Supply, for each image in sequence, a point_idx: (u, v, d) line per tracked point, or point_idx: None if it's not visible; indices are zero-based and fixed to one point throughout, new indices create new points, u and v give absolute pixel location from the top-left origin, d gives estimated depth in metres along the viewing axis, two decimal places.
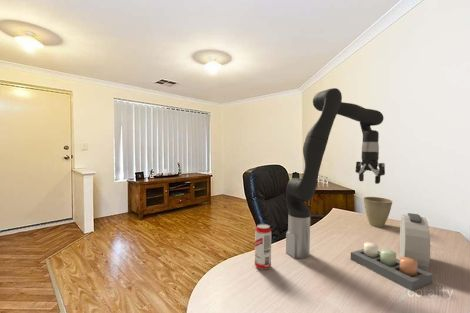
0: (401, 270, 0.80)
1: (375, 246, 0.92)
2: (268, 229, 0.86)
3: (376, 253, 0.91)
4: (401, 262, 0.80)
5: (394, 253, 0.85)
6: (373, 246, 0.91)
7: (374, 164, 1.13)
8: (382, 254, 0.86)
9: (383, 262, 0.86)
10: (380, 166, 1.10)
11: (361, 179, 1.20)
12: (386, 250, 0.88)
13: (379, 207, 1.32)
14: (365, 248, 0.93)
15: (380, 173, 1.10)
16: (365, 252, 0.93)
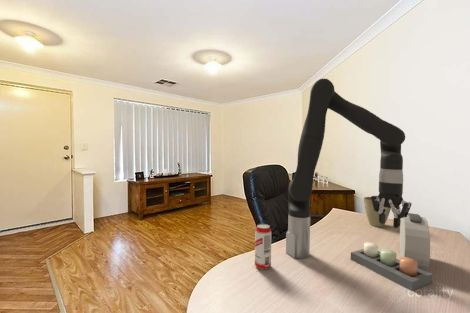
0: (401, 270, 0.80)
1: (375, 246, 0.92)
2: (268, 229, 0.86)
3: (376, 253, 0.91)
4: (401, 262, 0.80)
5: (394, 253, 0.85)
6: (373, 246, 0.91)
7: (397, 202, 0.83)
8: (382, 254, 0.86)
9: (383, 262, 0.86)
10: (405, 207, 0.80)
11: (382, 221, 0.88)
12: (386, 250, 0.88)
13: None
14: (365, 248, 0.93)
15: (401, 215, 0.81)
16: (365, 252, 0.93)
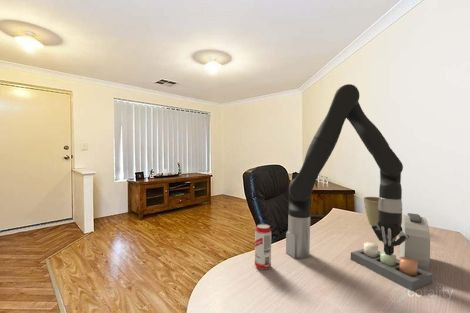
0: (401, 270, 0.80)
1: (375, 246, 0.92)
2: (268, 229, 0.86)
3: (376, 253, 0.91)
4: (401, 262, 0.80)
5: (394, 256, 0.85)
6: (373, 246, 0.91)
7: (396, 233, 0.83)
8: (382, 256, 0.86)
9: None
10: (401, 239, 0.82)
11: None
12: None
13: None
14: (365, 248, 0.93)
15: (394, 243, 0.84)
16: (365, 252, 0.93)
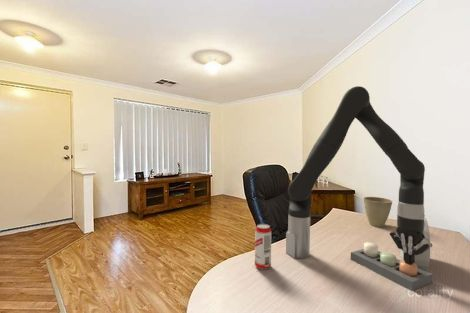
0: None
1: (375, 246, 0.92)
2: (268, 229, 0.86)
3: (376, 253, 0.91)
4: (401, 265, 0.80)
5: (394, 257, 0.85)
6: (373, 246, 0.91)
7: (418, 241, 0.77)
8: (382, 257, 0.87)
9: None
10: (424, 247, 0.75)
11: None
12: (386, 253, 0.88)
13: (379, 207, 1.32)
14: (365, 248, 0.93)
15: (415, 252, 0.77)
16: (365, 252, 0.93)
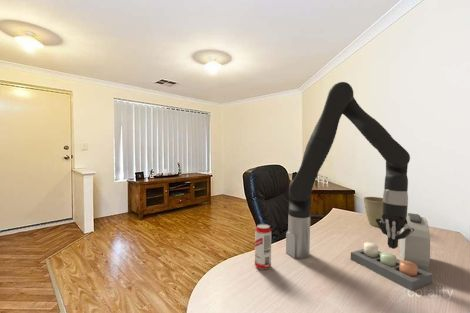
0: None
1: (375, 246, 0.92)
2: (268, 229, 0.86)
3: (376, 253, 0.91)
4: (401, 266, 0.80)
5: (394, 257, 0.85)
6: (373, 246, 0.91)
7: (400, 226, 0.81)
8: (382, 257, 0.87)
9: None
10: (406, 232, 0.79)
11: None
12: (386, 253, 0.88)
13: (379, 207, 1.32)
14: (365, 248, 0.93)
15: (398, 236, 0.82)
16: (365, 252, 0.93)
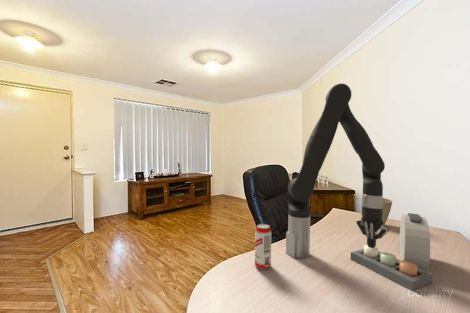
0: None
1: (375, 249, 0.92)
2: (268, 229, 0.86)
3: (376, 256, 0.91)
4: (401, 266, 0.80)
5: (394, 257, 0.85)
6: (373, 249, 0.91)
7: (377, 227, 0.90)
8: (382, 257, 0.87)
9: None
10: (382, 232, 0.88)
11: None
12: (386, 253, 0.88)
13: None
14: (365, 251, 0.93)
15: (375, 237, 0.90)
16: (365, 255, 0.93)
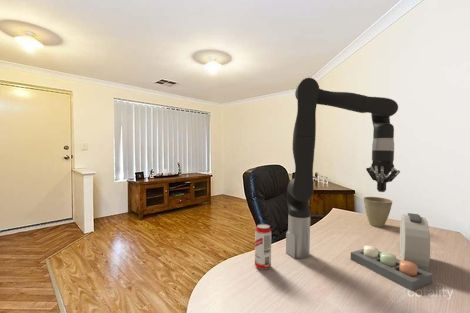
0: None
1: (375, 249, 0.92)
2: (268, 229, 0.86)
3: (376, 256, 0.91)
4: (401, 266, 0.80)
5: (394, 257, 0.85)
6: (373, 250, 0.91)
7: (388, 170, 0.90)
8: (382, 257, 0.87)
9: None
10: (392, 174, 0.88)
11: None
12: (386, 253, 0.88)
13: (379, 207, 1.32)
14: (365, 251, 0.93)
15: (386, 179, 0.90)
16: (365, 255, 0.93)
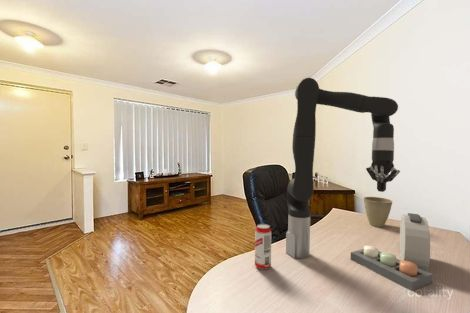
0: None
1: (375, 249, 0.92)
2: (268, 229, 0.86)
3: (376, 256, 0.91)
4: (401, 266, 0.80)
5: (394, 257, 0.85)
6: (373, 250, 0.91)
7: (388, 170, 0.90)
8: (382, 257, 0.87)
9: None
10: (392, 173, 0.88)
11: None
12: (386, 253, 0.88)
13: (379, 207, 1.32)
14: (365, 251, 0.93)
15: (386, 179, 0.90)
16: (365, 255, 0.93)
